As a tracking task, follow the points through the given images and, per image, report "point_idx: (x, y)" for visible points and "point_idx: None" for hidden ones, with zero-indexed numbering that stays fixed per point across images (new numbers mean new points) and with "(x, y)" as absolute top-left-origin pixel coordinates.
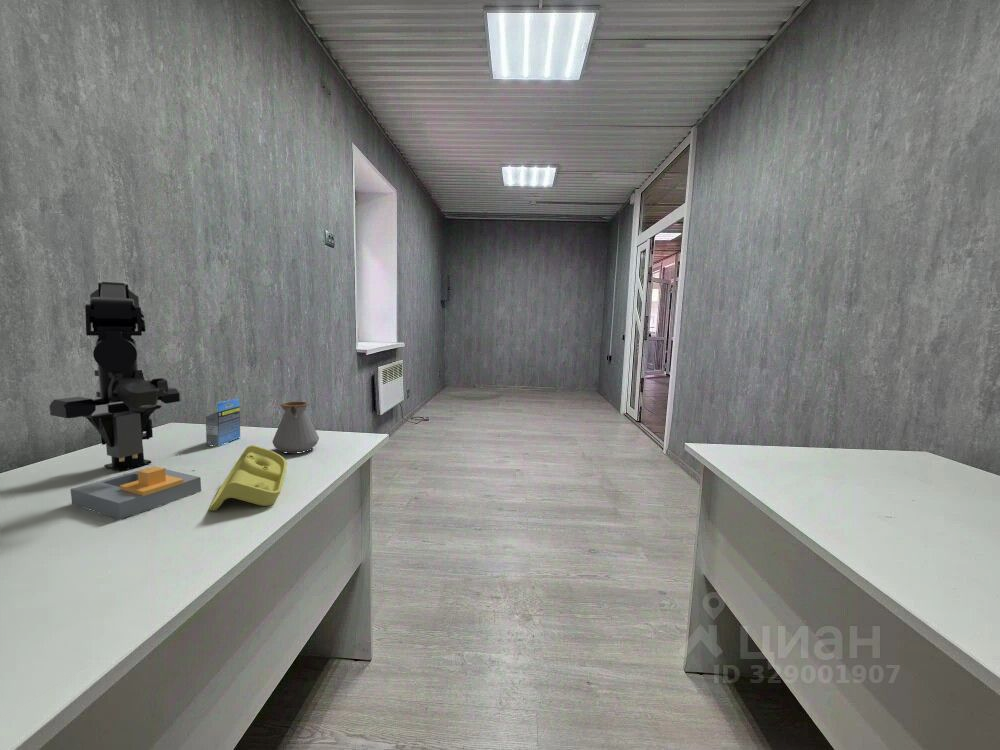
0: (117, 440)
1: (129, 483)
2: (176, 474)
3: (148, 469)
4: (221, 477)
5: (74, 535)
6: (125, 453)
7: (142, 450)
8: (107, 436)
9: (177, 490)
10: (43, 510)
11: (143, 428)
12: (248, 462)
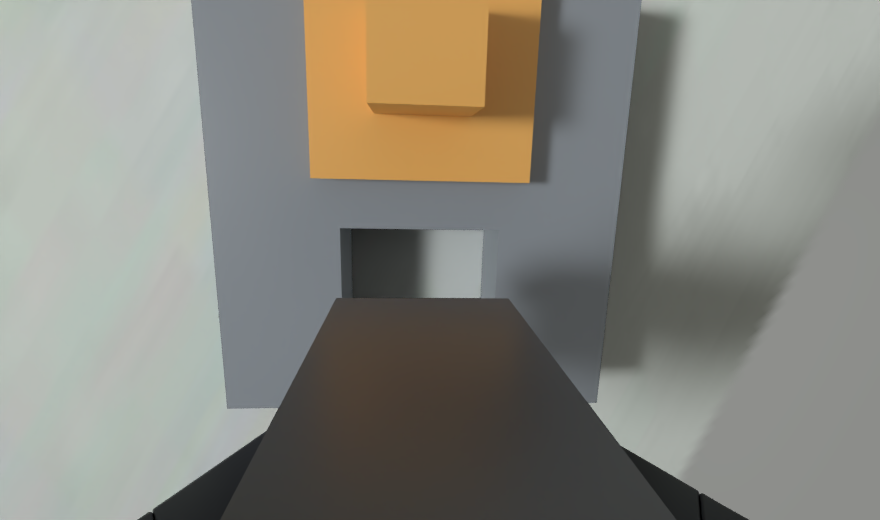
0: (558, 370)
1: (489, 169)
2: (237, 152)
3: (434, 66)
4: (39, 92)
5: (754, 21)
6: (468, 308)
7: (339, 301)
8: (641, 461)
9: None
10: (638, 390)
11: (213, 475)
12: None
